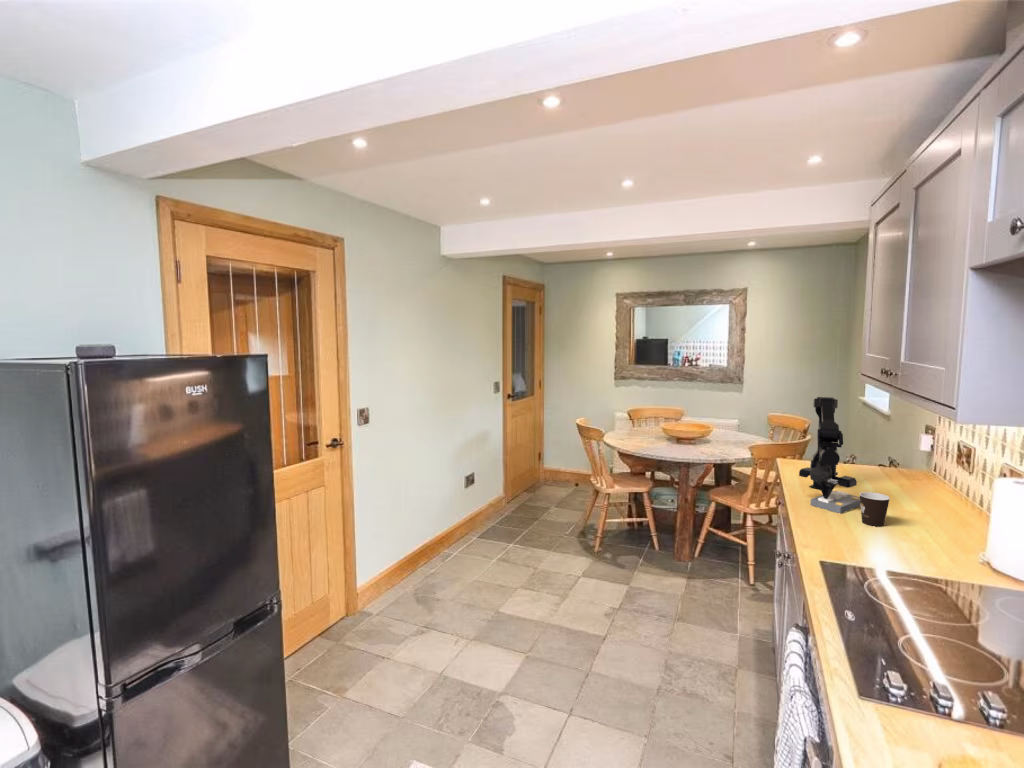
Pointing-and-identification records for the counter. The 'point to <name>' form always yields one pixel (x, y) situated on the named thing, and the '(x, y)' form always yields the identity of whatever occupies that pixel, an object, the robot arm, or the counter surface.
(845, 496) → the key
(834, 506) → the keyguard plate
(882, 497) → the coffee mug
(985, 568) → the counter surface
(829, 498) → the key
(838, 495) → the middle key
